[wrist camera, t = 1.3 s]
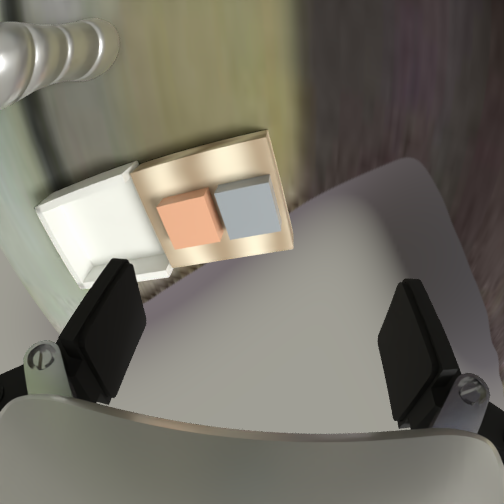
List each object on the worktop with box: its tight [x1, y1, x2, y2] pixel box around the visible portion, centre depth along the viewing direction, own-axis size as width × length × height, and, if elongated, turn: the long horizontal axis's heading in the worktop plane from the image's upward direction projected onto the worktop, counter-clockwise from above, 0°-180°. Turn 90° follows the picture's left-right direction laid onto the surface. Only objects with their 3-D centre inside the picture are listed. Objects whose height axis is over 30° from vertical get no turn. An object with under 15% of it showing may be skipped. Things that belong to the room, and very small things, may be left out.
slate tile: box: [214, 174, 282, 240], centre depth 30 cm, size 5×5×2 cm
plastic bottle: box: [0, 18, 120, 110], centre depth 17 cm, size 6×7×20 cm
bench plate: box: [130, 130, 293, 268], centre depth 33 cm, size 14×12×3 cm
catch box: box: [34, 160, 173, 289], centre depth 36 cm, size 14×13×4 cm
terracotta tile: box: [156, 187, 224, 250], centre depth 31 cm, size 5×5×2 cm
